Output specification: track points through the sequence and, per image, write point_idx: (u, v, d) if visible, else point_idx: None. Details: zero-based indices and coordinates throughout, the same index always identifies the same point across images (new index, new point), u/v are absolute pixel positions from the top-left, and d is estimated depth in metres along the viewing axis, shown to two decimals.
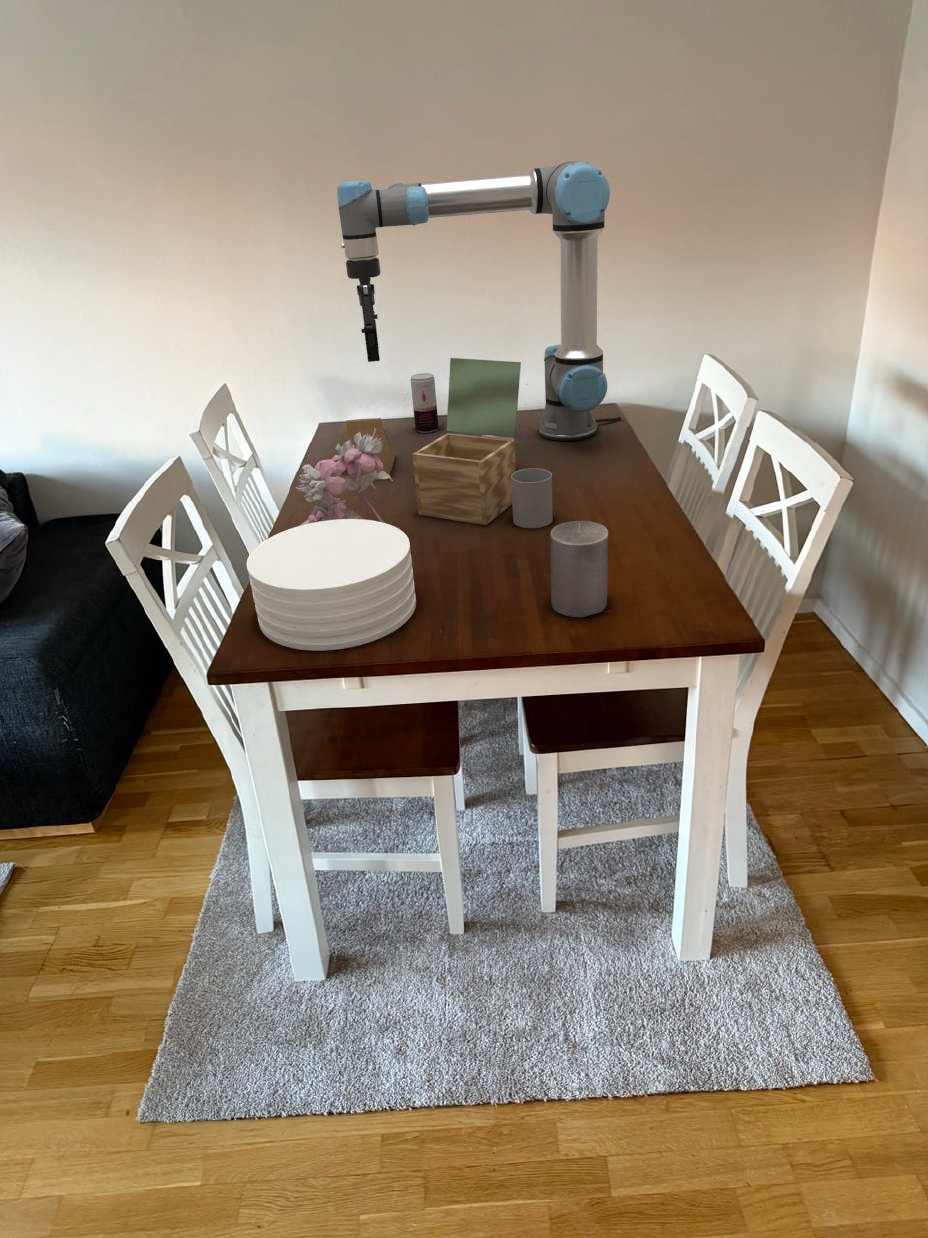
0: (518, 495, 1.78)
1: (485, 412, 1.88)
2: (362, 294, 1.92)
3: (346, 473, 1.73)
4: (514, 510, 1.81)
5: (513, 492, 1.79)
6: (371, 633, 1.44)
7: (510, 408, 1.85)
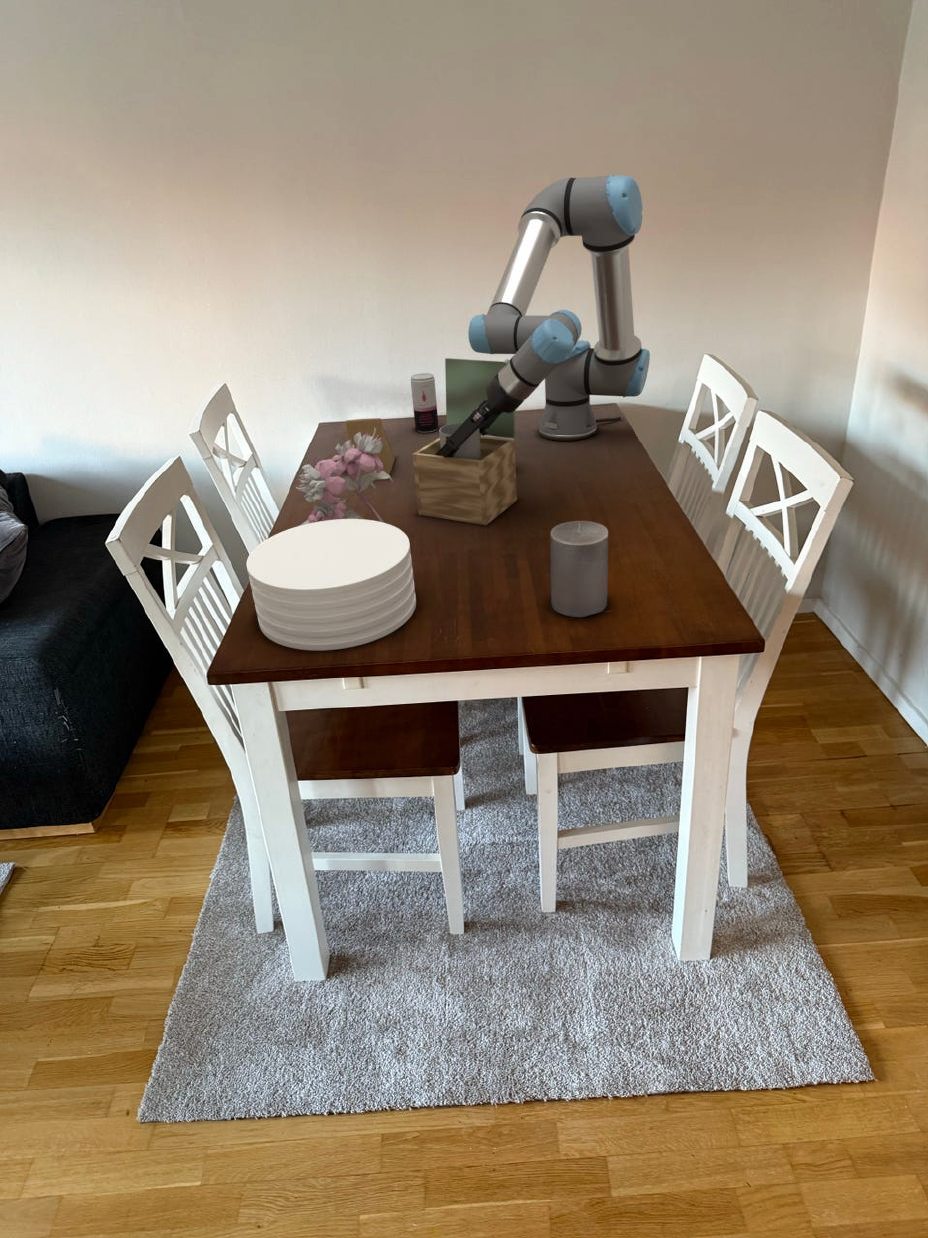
0: None
1: None
2: (470, 417, 1.72)
3: (346, 473, 1.73)
4: None
5: (441, 445, 1.82)
6: (371, 633, 1.44)
7: None
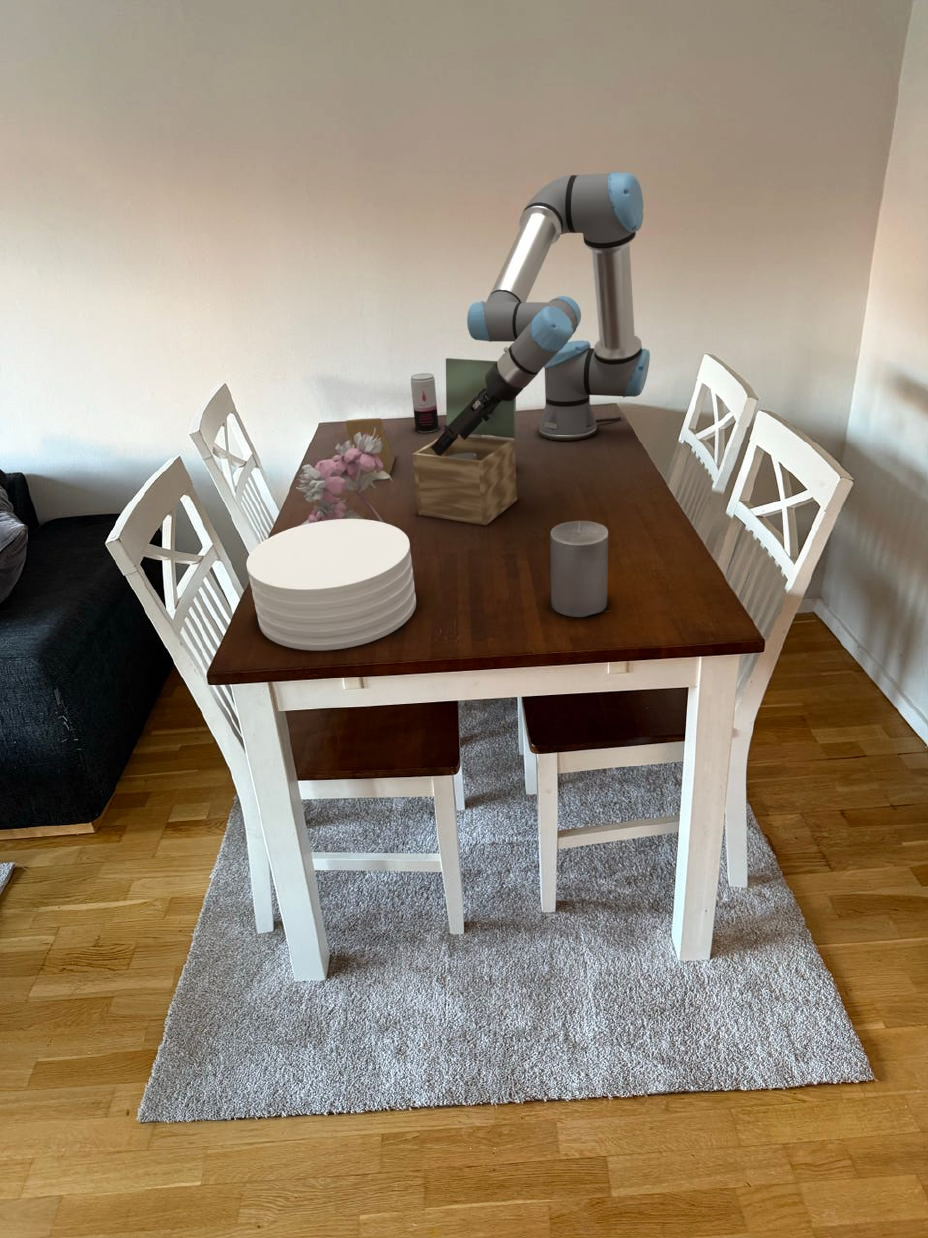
0: None
1: None
2: (470, 405, 1.71)
3: (346, 473, 1.73)
4: None
5: None
6: (371, 633, 1.44)
7: (508, 409, 1.85)
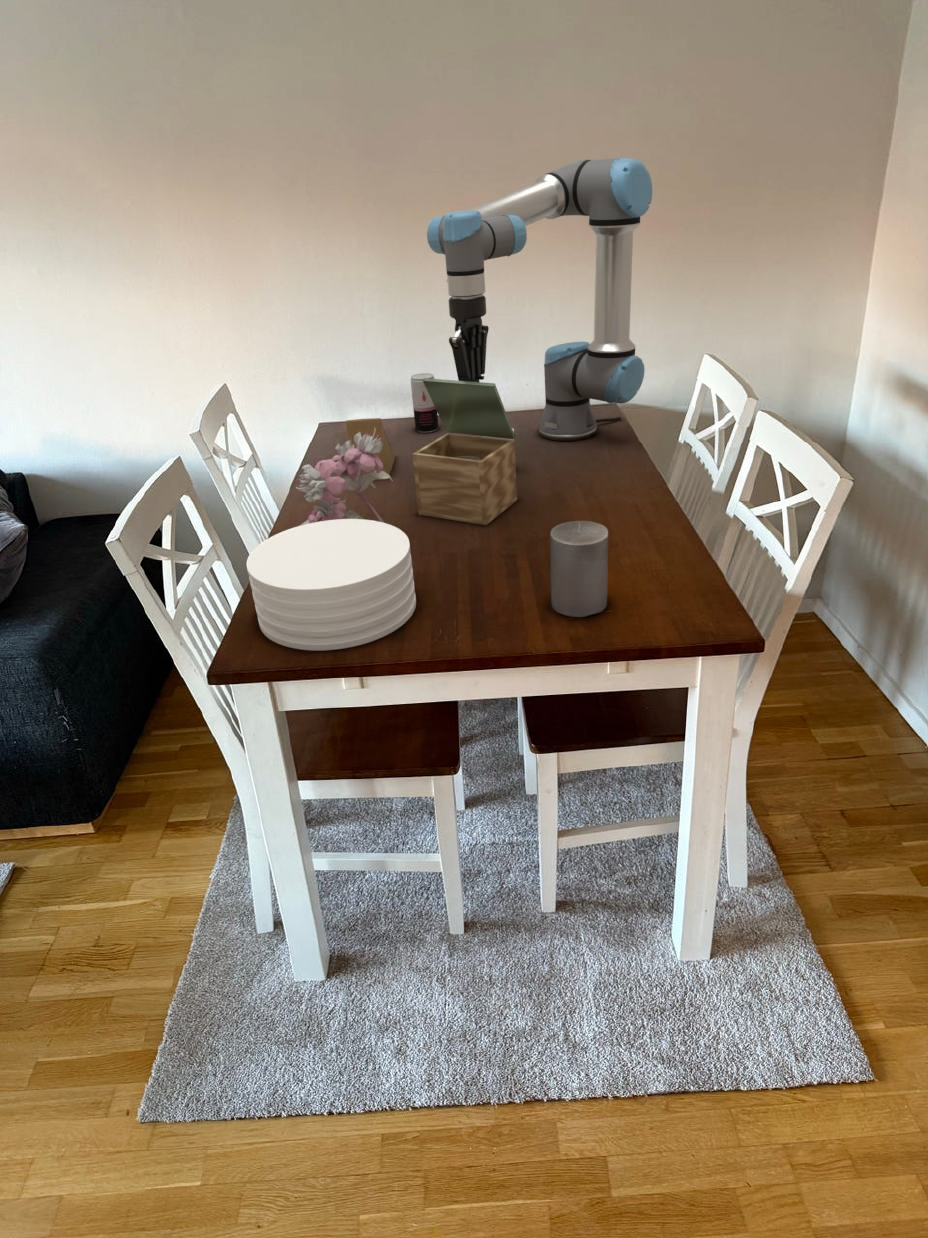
0: None
1: (477, 420, 1.86)
2: (453, 347, 1.75)
3: (346, 473, 1.73)
4: None
5: None
6: (371, 633, 1.44)
7: (500, 419, 1.82)
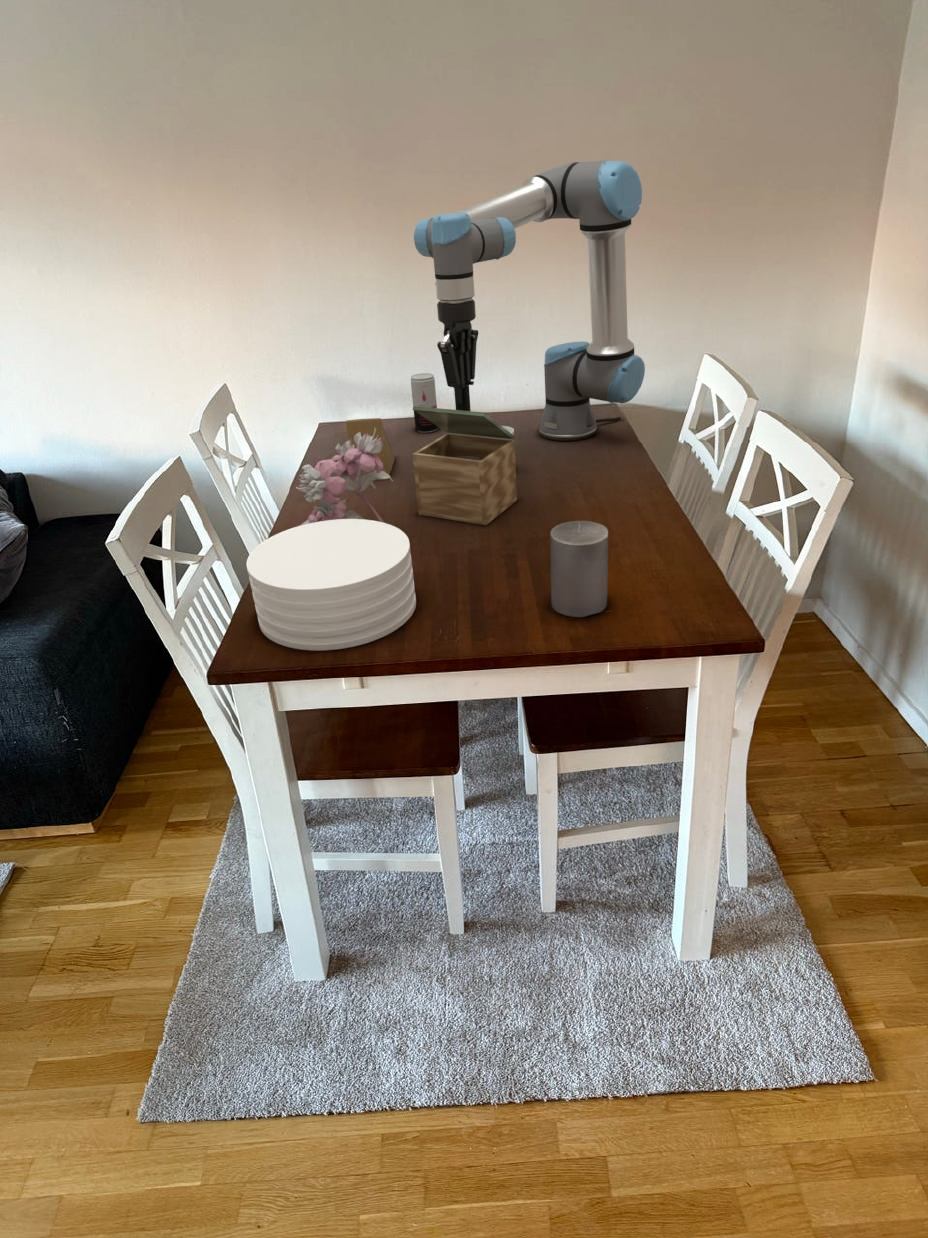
0: None
1: (475, 429, 1.86)
2: (441, 352, 1.72)
3: (346, 473, 1.73)
4: None
5: None
6: (371, 633, 1.44)
7: (497, 430, 1.82)
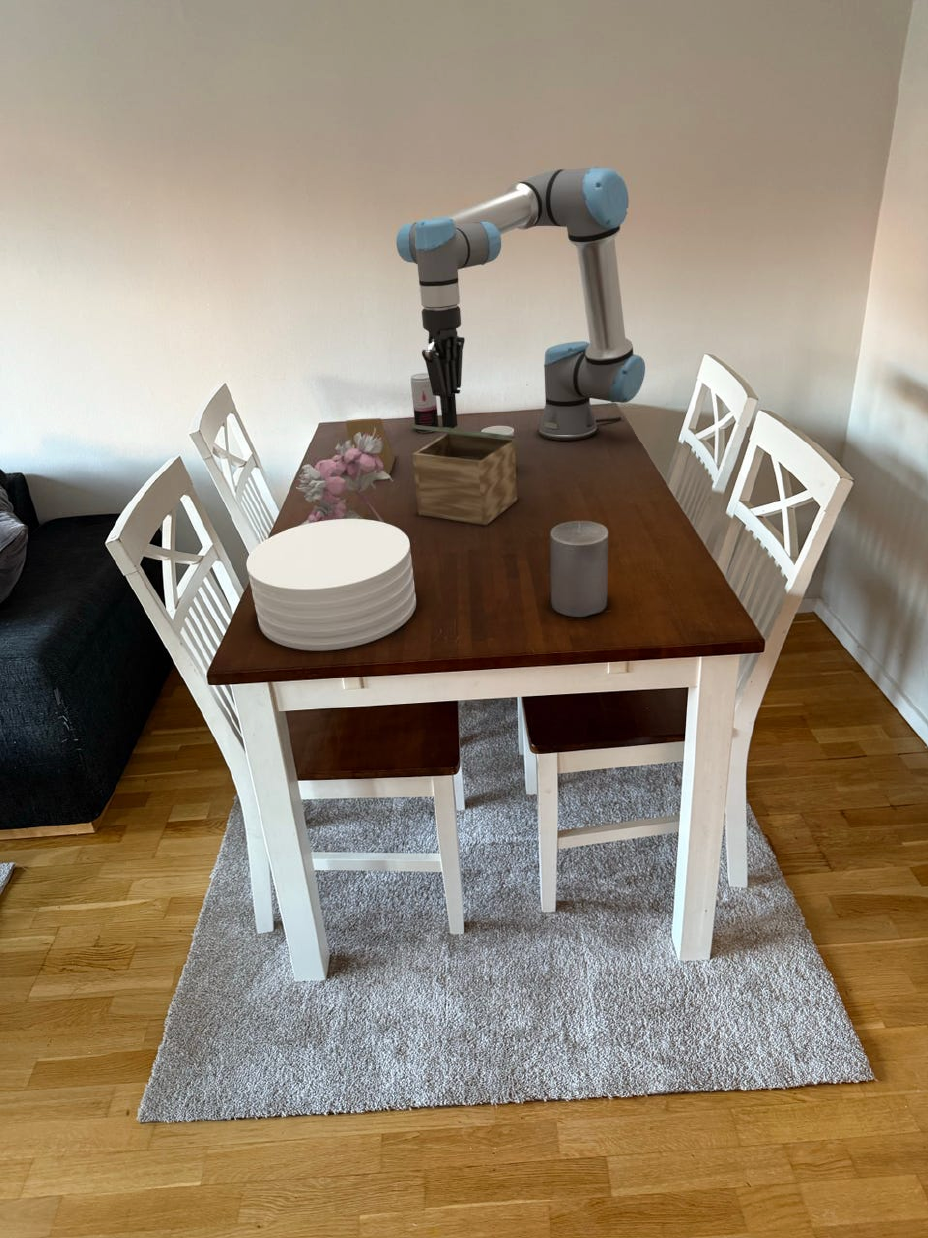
0: None
1: None
2: (426, 360, 1.68)
3: (346, 473, 1.73)
4: None
5: None
6: (371, 633, 1.44)
7: None
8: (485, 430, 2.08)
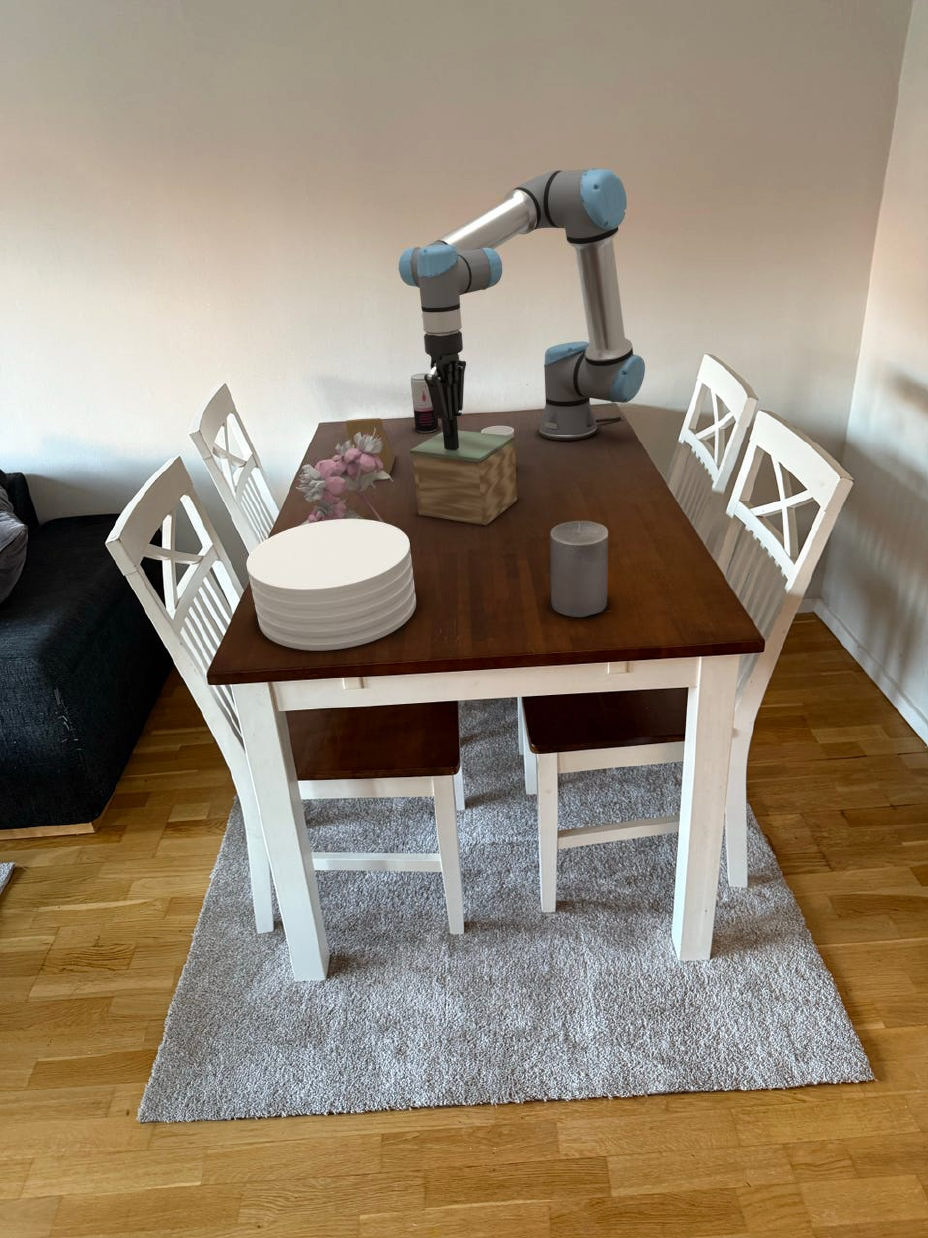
0: None
1: None
2: (428, 384, 1.70)
3: (346, 473, 1.73)
4: None
5: None
6: (371, 633, 1.44)
7: None
8: (485, 430, 2.08)
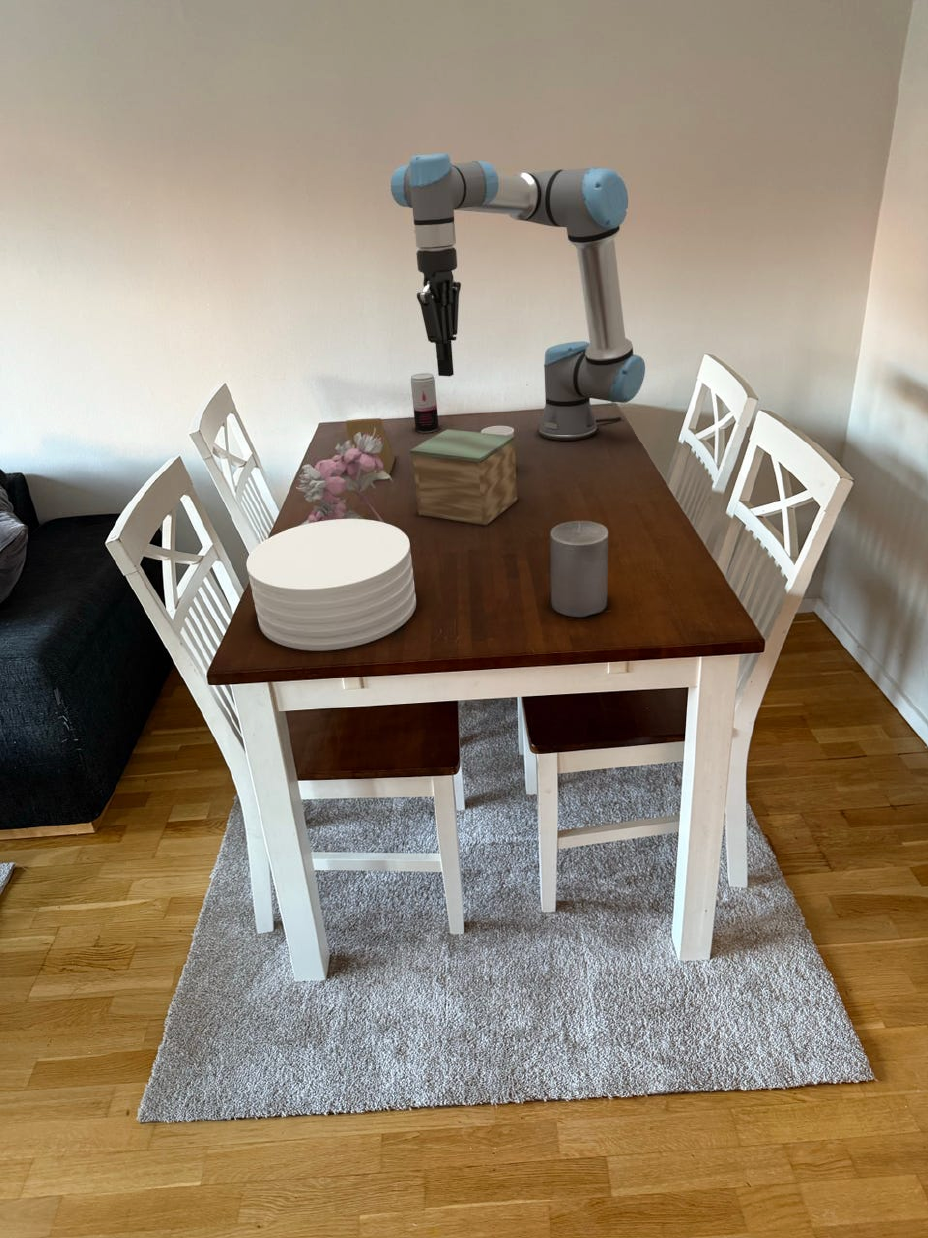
0: None
1: None
2: (421, 303, 1.63)
3: (346, 473, 1.73)
4: None
5: None
6: (371, 633, 1.44)
7: None
8: (485, 430, 2.08)
